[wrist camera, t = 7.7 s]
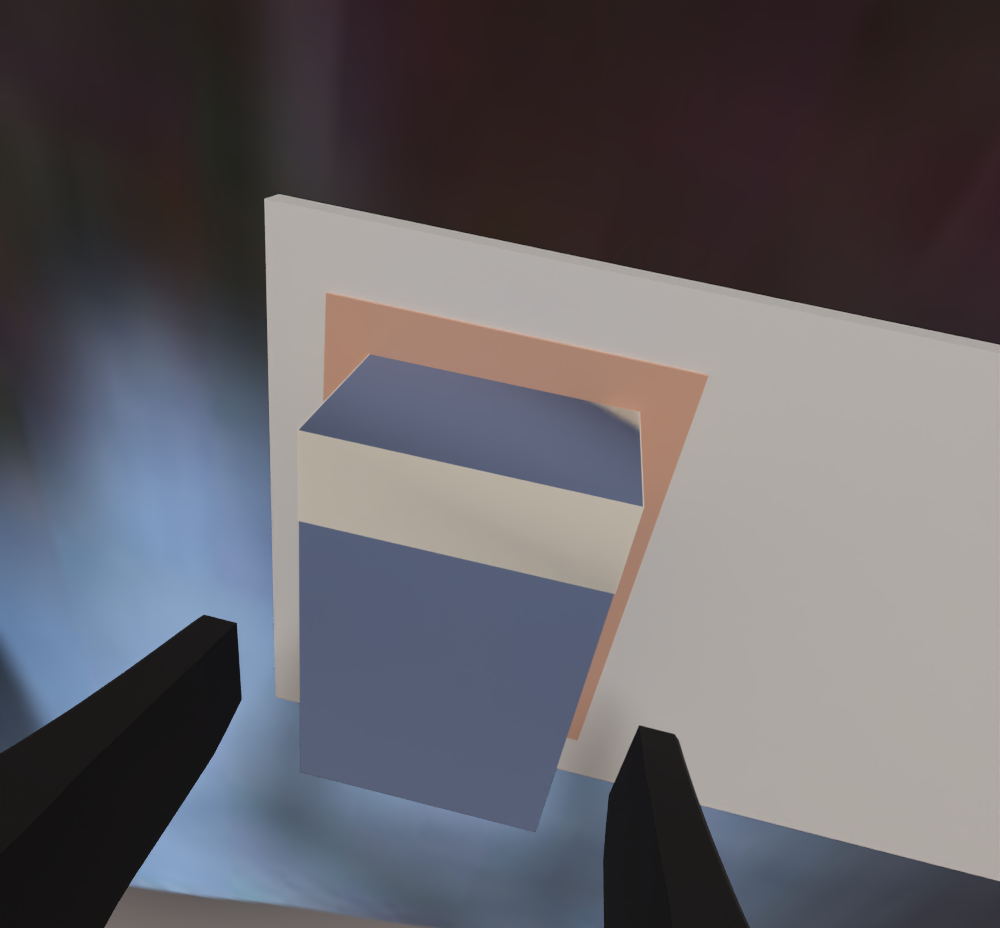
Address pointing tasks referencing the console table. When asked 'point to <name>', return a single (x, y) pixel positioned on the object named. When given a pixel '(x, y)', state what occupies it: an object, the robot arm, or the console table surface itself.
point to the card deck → (455, 581)
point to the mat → (714, 515)
